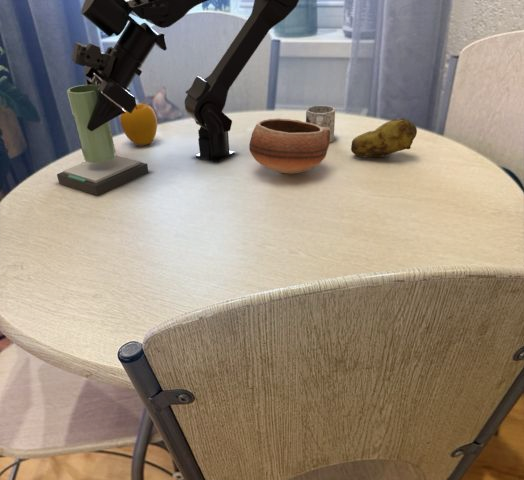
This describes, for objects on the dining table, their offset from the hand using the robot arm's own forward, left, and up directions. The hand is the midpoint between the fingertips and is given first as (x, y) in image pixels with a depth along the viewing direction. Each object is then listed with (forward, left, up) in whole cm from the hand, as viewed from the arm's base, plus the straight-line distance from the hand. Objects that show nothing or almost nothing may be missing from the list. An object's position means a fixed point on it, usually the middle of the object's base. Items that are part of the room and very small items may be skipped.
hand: (85, 125), depth 104 cm
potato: (-41, +45, -11) cm, 62 cm away
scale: (-1, +1, -11) cm, 11 cm away
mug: (-43, +28, -11) cm, 52 cm away
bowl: (-24, +32, -11) cm, 41 cm away
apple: (-21, -8, -11) cm, 25 cm away
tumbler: (-1, +1, -7) cm, 7 cm away
